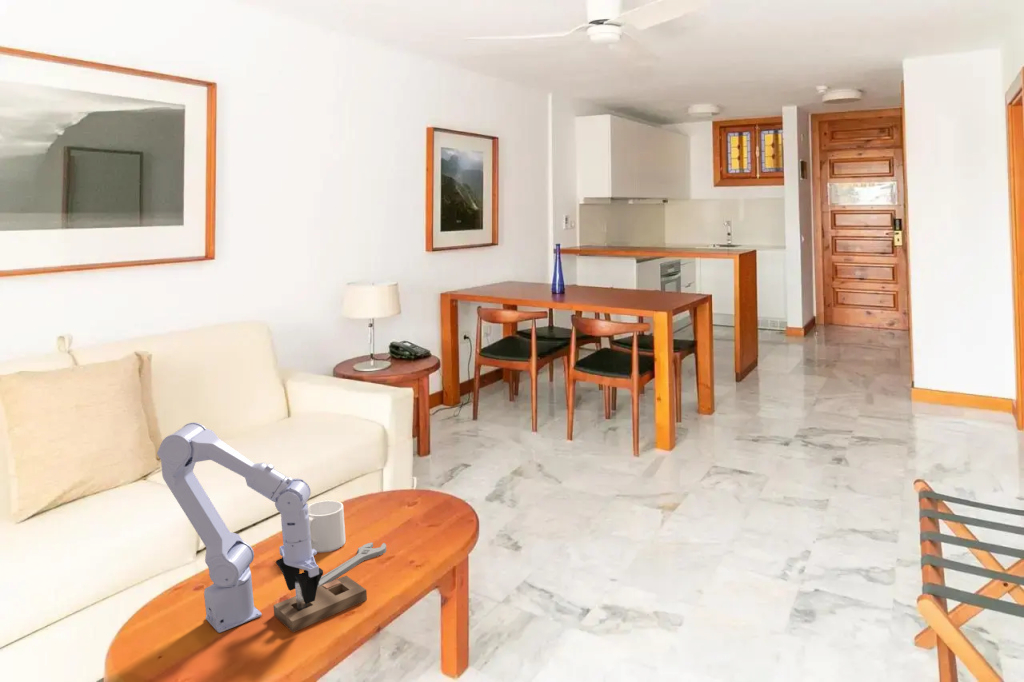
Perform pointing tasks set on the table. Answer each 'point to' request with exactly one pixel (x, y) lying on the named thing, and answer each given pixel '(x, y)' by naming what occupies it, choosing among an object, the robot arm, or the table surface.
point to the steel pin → (299, 597)
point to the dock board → (321, 603)
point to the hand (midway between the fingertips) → (301, 595)
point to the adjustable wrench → (353, 562)
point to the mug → (326, 525)
